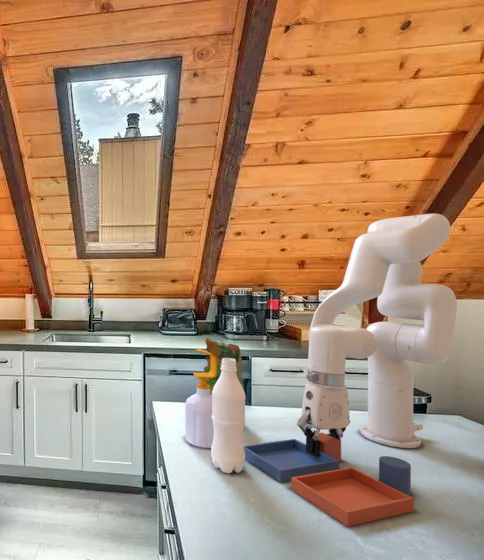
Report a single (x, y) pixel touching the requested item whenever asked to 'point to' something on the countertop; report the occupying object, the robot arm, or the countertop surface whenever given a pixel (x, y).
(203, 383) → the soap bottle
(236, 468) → the water bottle
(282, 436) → the countertop surface
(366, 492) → the terracotta tray
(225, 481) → the countertop surface
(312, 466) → the blue tray
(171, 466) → the countertop surface
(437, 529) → the countertop surface
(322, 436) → the block
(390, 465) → the blue cylinder
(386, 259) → the robot arm
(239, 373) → the pouch
